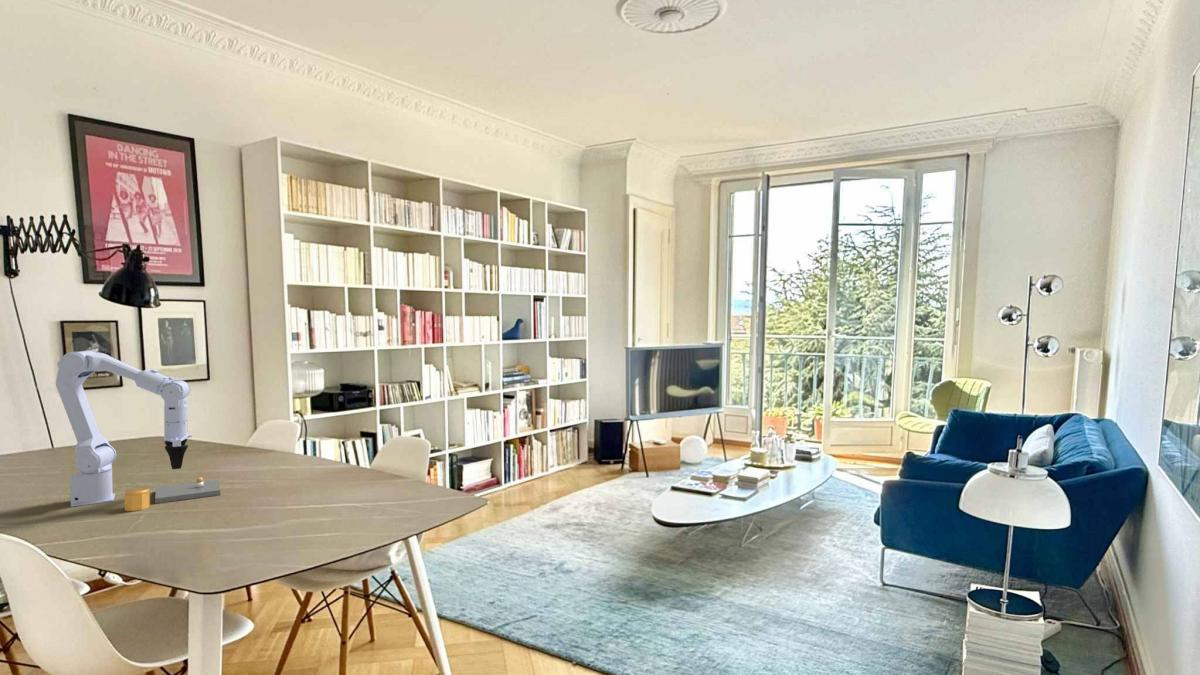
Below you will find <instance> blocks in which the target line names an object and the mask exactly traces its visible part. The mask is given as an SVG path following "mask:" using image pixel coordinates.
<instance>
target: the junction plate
mask: <svg viewBox="0 0 1200 675" xmlns="http://www.w3.org/2000/svg"><path fill="white" fill-rule="evenodd" d="M214 496H221V488H220V485H219V480H218V479H217V478H216V479H209V480H204V478H203V477H201V476H200V477H196V481H192V482H185V483H176V484H169V485H168V484H167V485H161V486H160V485H159V486H155V495H154V504H164V503H171V502H177V501H184V500H193V499H200V498H201V499H202V498H209V497H214Z"/></svg>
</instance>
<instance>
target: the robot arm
mask: <svg viewBox="0 0 1200 675" xmlns="http://www.w3.org/2000/svg"><path fill="white" fill-rule="evenodd" d="M56 365H57V367H58V370H57V375H56V378H55V387H56V389H57V392H58V394H59V396H60V400H61V403H62V405H63V408H64V411H65V412H66V416H67V418H68V420H69V423H70V426H71V428H72V431H73V434H74V436H75V439H76V441H77V443H76V445H75V447H74V450H73V451H74V454H75V459H74V465H75V468H76V469H77V470H78V472H74V473H73V472H72V473H71V475H70V493H69V499H70V507H79V506H86V505H87V506H88V505H93V504H102V503H111V502H114V500H115V497H116V493H113V466H112V465H113V463H114V461H115V460H116V458H117V451H116V449H115V448H114V447H113V446H112V445H111V444H110V443H109V439H107V438H106V437H105V436H103V435H101V432H100V429H99V427H98V424H97V422H96V419H95V415H94V413H93V411H92V409H91V406H90V403H89V401H88V397H87V395H86V392H85V389H84V387H83V385H84V383H85V381H86V380H87V379H88V377H90V375H92V374H93V373H95V372H99V371H106V372H109V373H112V374H114V375H116V376H117V375H118V376H121V377H123V378H126V379H129V380H132V381H134V382H135V385H136V387H138V388H140V389H142V390H145V391H147V392H150V393H153V394H154V395H157V396H160V397H161V399H163V401H164V405H163V408H164V410H163V411H164V412H163V414H164V415H163V417H164V420H163V421H164V422H163V424H164V426H163V427H164V430H163V432H164V436H163V440H164V442H163V443H164V444H165V445H164V449H165V451H166V453H167V455H168V457H169V461H170V466H171V469H172V470H179V469H181V468H182V466H183V460H184V456H185V453H186V451H187V450H188V447H189V445H188V444H186V443H187V441H188V438H192V437H193V434H192V433H188V416H189V415H188V396H189V395H190V393H191V386H190V384H189V383H188V382H186V381H184V379H177V380H175V377H173V376H167V375H164V374H162V373H160V372H159V370H158V369H155V368H153V369H152V368H151V369H149V368H147V369H144V370H141V369H138V368H136V367H134V366H132V365H130V364H127V363H125V362H124V361H121V360H120V359H119V360H118V359H117V358H115V357H112V356H111V355H108V354H106V353H103V352H99V351H98V350H95V349H88V350H82V351H81V350H80V351H70V352H67V353H65V354H64V355H63V356H62V357H61V358H60V359H59V360H58V361H57V363H56Z"/></svg>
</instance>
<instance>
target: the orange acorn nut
mask: <svg viewBox="0 0 1200 675" xmlns="http://www.w3.org/2000/svg"><path fill="white" fill-rule="evenodd" d="M150 501H151V500H150V488H149V487H135V488H131V489H128V490H125V491H124V512H125V511H126V512H137V511H142V510H147V509H148V508H150V506H151V505H150V503H151V502H150Z"/></svg>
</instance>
